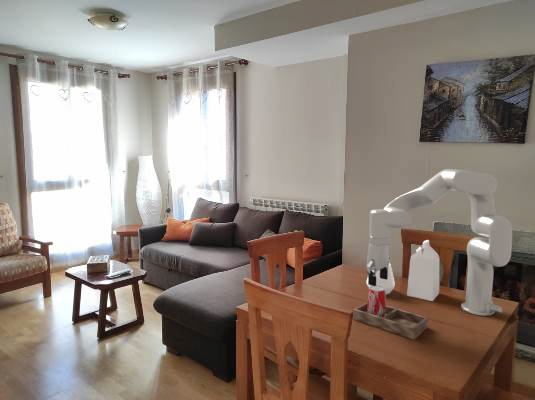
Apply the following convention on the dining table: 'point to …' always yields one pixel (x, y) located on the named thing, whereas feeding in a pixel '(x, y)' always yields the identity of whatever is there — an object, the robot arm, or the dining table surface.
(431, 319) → the dining table surface
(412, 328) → the caddy
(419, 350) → the dining table surface
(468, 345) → the dining table surface
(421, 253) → the milk
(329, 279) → the dining table surface
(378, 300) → the soda can
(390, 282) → the white faceted vase
